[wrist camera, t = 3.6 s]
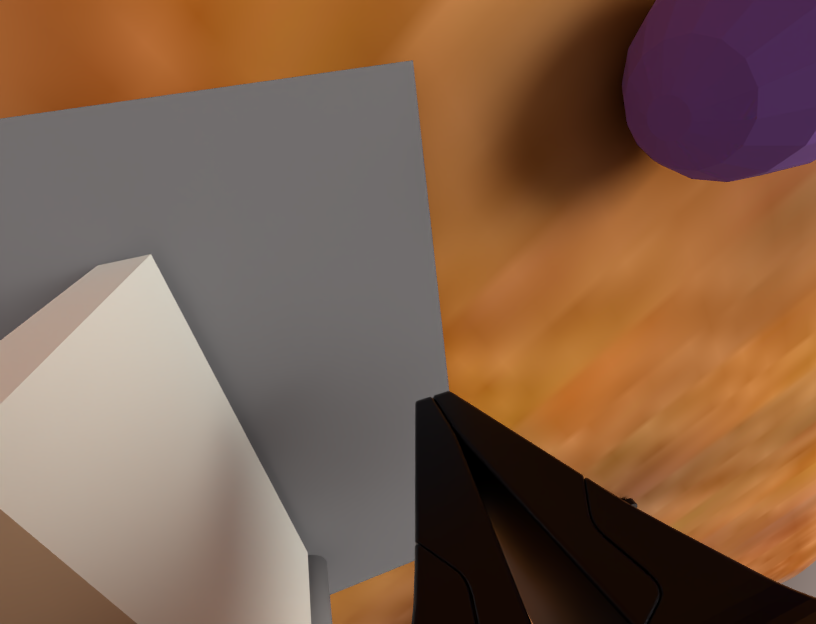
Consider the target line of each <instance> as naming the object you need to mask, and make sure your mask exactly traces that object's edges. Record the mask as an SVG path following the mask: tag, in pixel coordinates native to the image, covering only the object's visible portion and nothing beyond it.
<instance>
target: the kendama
mask: <svg viewBox="0 0 816 624" xmlns="http://www.w3.org/2000/svg"><path fill="white" fill-rule="evenodd" d="M622 90H623V98H624V106H625V113H626V120H627V125H628V127H629V129H630V131H631V133H632V135H633V137H634V139H635V141H636V143H637V145H638V146H639V147H640V148H641V149H642V150H644V151H645V152H646V153H647V154H648V155H649V156H650V157H651V158H652V159H653V160H654V161H656V162H658V163H659V164H661V165H663V166H665V167H667V168H669V169H671V170H674V171H676V172H678V173H680V174H682V175H685V176H687V177H689V178H691V179H700V180H711V181H723V182H730V181H735V180H740V179H745V178H750V177H755V176H759V175H764V174H768V173H772V172H776V171H780V170H784V169H788V168H792V167H796V166H800V165H804V164H808V163H811V162H812V161H814V160H816V0H656V1H655V3H654V4H653V6H652V8H651V9H650V11H649V12H648V14H647V16H646V18H645V19H644V21H643V23H642V25H641V27H640V29H639V30H638V32H637V34H636V36H635V38H634V39H633V41H632V43H631V45H630V47H629V48H628V53H627V58H626V64H625V69H624V75H623V80H622Z"/></svg>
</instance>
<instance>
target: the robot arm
mask: <svg viewBox="0 0 816 624" xmlns="http://www.w3.org/2000/svg"><path fill="white" fill-rule="evenodd" d="M415 544H416V545H415V575H414V604H413V615H412V624H531V621H530V619H531V620H532V622H533V624H816V598H815V597H812V596H809V595H807V594H804V593H801V592H799V591H796V590H794V589H792V588H789V587H787V586H785V585H782V584H780V583H778V582H776V581H774V580H772V579H770V578H768V577H766V576H764V575H762V574H760V573H758V572H756V571H754V570H752V569H750V568H748V567H746V566H744V565H742V564H740V563H739V562H737V561H735V560H733V559H731V558H729V557H727V556H725V555H723V554H721V553H720V552H718V551H716V550H714V549H712V548H710V547H708V546H706V545H704V544H702V543H700V542H699V541H697V540H695V539H693V538H691V537H689V536H687V535H685V534H683V533H681V532H680V531H678V530H676V529H674V528H672V527H670V526H668V525H666V524H665V523H663V522H661V521H659V520H657V519H655V518H654V517H652V516H650V515H648V514H646V513H645V512H643V511H641V510H639V509H637V504H636V503H635V502H634V500H633V499H632V498H629V499H626V500H622V499H620V498H619V497H617V496H615V495H614V494H612V493H611V492H609V491H607V490H606V489H604V488H602V487H601V486H599V485H598V484H596V483H594V482H593V481H591V480H590V479H588V478H585V479H584V477H583V475H582V474H580V473H578V472H577V471H575V470H574V469H572V468H571V467H569V466H567V465H566V464H564V463H563V462H561V461H559V460H558V459H556V458H555V457H553V456H552V455H550V454H548V453H547V452H545V451H544V450H542V449H541V448H539V447H537V446H536V445H534V444H533V443H531V442H529V441H528V440H526V439H525V438H523V437H522V436H520V435H518V434H517V433H515V432H514V431H512V430H511V429H509V428H507V427H506V426H504V425H503V424H501V423H499V422H498V421H496V420H495V419H493V418H492V417H490V416H488V415H487V414H485V413H484V412H482V411H481V410H479V409H477V408H476V407H474V406H473V405H471V404H469V403H468V402H466V401H465V400H463V399H462V398H460V397H458V396H457V395H455V394H454V393H452V392H450V391H446V392H443V393H440V394H436V395H434V396H433V398H432V397H427V398H424V399H421V400H418V401H416V403H415ZM527 613H528V614H527ZM528 615H529V616H528ZM529 617H530V619H529Z"/></svg>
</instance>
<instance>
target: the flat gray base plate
mask: <svg viewBox="0 0 816 624" xmlns="http://www.w3.org/2000/svg"><path fill="white" fill-rule="evenodd" d="M149 254H151V255H152V257H153V259H154V261H155V263H156V265H157V267H158V268H159V270H160V272H161V274H162V276H163V278H164V280H165V282H166V284H167V286H168V288H169V289H170V291H171V293H172V295H173V297H174V299H175V301H176V303H177V305H178V307H179V308H180V310H181V312H182V314H183V316H184V318H185V320H186V322H187V324H188V326H189V327H190V329H191V331H192V333H193V335H194V337H195V339H196V341H197V343H198V345H199V347H200V348H201V350H202V352H203V354H204V356H205V358H206V360H207V362H208V364H209V366H210V367H211V369H212V371H213V373H214V375H215V377H216V379H217V381H218V383H219V385H220V386H221V388H222V390H223V392H224V394H225V396H226V398H227V400H228V402H229V404H230V406H231V407H232V409H233V411H234V413H235V415H236V417H237V419H238V421H239V423H240V425H241V426H242V428H243V430H244V432H245V434H246V436H247V438H248V440H249V442H250V444H251V445H252V447H253V449H254V451H255V453H256V455H257V457H258V459H259V461H260V463H261V465H262V466H263V468H264V470H265V472H266V474H267V476H268V478H269V480H270V482H271V484H272V485H273V487H274V489H275V491H276V493H277V495H278V497H279V499H280V501H281V503H282V504H283V506H284V508H285V510H286V512H287V514H288V516H289V518H290V520H291V522H292V524H293V525H294V527H295V529H296V531H297V533H298V535H299V537H300V539H301V541H302V543H303V544H304V546H305V548H306V550H307V552H308V570H309V589H310V609H311V624H332V615H331V604H330V595H331V594H333V593H336V592H338V591H341V590H343V589H346V588H348V587H350V586H353V585H355V584H358V583H360V582H363V581H365V580H368V579H370V578H373V577H375V576H378V575H380V574H382V573H385V572H387V571H390V570H392V569H395V568H397V567H400V566H402V565H405V564H407V563H410V562H412V561H415V545H416V544H415V403H416V401H418V400H421V399H424V398H427V397H432V398H433V396H434V395H436V394H440V393H443V392H446V391H449V386H448V376H447V367H446V358H445V349H444V340H443V331H442V322H441V313H440V304H439V294H438V285H437V276H436V267H435V258H434V249H433V240H432V231H431V221H430V212H429V203H428V194H427V185H426V176H425V167H424V158H423V149H422V139H421V130H420V121H419V112H418V103H417V94H416V85H415V76H414V67H413V61H405V62H398V63H391V64H384V65H377V66H370V67H363V68H356V69H349V70H342V71H335V72H328V73H321V74H313V75H306V76H299V77H292V78H285V79H278V80H271V81H264V82H257V83H250V84H243V85H236V86H229V87H221V88H214V89H207V90H200V91H193V92H186V93H179V94H172V95H165V96H158V97H151V98H144V99H137V100H130V101H122V102H115V103H108V104H101V105H94V106H87V107H80V108H73V109H66V110H59V111H52V112H45V113H38V114H30V115H23V116H16V117H9V118H2V119H0V340H2V339H3V338H4V337H6V336H7V335H8V334H9V333H11V332H12V331H13V330H15V329H16V328H17V327H18V326H20V325H21V324H22V323H24V322H25V321H26V320H28V319H29V318H30V317H31V316H33V315H34V314H35V313H37V312H38V311H39V310H40V309H42V308H43V307H44V306H46V305H47V304H48V303H49V302H51V301H52V300H53V299H55V298H56V297H57V296H59V295H60V294H61V293H62V292H64V291H65V290H66V289H68V288H69V287H70V286H71V285H73V284H74V283H75V282H77V281H78V280H79V279H81V278H82V277H83V276H84V275H86V274H87V273H88V272H90V271H91V270H92V269H93V268H95V267H96V266H98V265H102V264H107V263H112V262H116V261H121V260H126V259H130V258H135V257H140V256H144V255H149Z"/></svg>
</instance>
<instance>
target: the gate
mask: <svg viewBox="0 0 816 624" xmlns="http://www.w3.org/2000/svg"><path fill="white" fill-rule="evenodd" d="M0 624H311V609H310V589H309V570H308V552H307V550H306V548H305V546H304V544H303V543H302V541H301V539H300V537H299V535H298V533H297V531H296V529H295V527H294V525H293V524H292V522H291V520H290V518H289V516H288V514H287V512H286V510H285V508H284V506H283V504H282V503H281V501H280V499H279V497H278V495H277V493H276V491H275V489H274V487H273V485H272V484H271V482H270V480H269V478H268V476H267V474H266V472H265V470H264V468H263V466H262V465H261V463H260V461H259V459H258V457H257V455H256V453H255V451H254V449H253V447H252V445H251V444H250V442H249V440H248V438H247V436H246V434H245V432H244V430H243V428H242V426H241V425H240V423H239V421H238V419H237V417H236V415H235V413H234V411H233V409H232V407H231V406H230V404H229V402H228V400H227V398H226V396H225V394H224V392H223V390H222V388H221V386H220V385H219V383H218V381H217V379H216V377H215V375H214V373H213V371H212V369H211V367H210V366H209V364H208V362H207V360H206V358H205V356H204V354H203V352H202V350H201V348H200V347H199V345H198V343H197V341H196V339H195V337H194V335H193V333H192V331H191V329H190V327H189V326H188V324H187V322H186V320H185V318H184V316H183V314H182V312H181V310H180V308H179V307H178V305H177V303H176V301H175V299H174V297H173V295H172V293H171V291H170V289H169V288H168V286H167V284H166V282H165V280H164V278H163V276H162V274H161V272H160V270H159V268H158V267H157V265H156V263H155V261H154V259H153V257H152V255H151V254H149V255H144V256H140V257H135V258H130V259H126V260H121V261H116V262H112V263H107V264H102V265H98V266H96V267H95V268H93V269H92V270H91V271H90V272H88V273H87V274H86V275H84V276H83V277H82V278H81V279H79V280H78V281H77V282H75V283H74V284H73V285H71V286H70V287H69V288H68V289H66V290H65V291H64V292H62V293H61V294H60V295H59V296H57V297H56V298H55V299H53V300H52V301H51V302H49V303H48V304H47V305H46V306H44V307H43V308H42V309H40V310H39V311H38V312H37V313H35V314H34V315H33V316H31V317H30V318H29V319H28V320H26V321H25V322H24V323H22V324H21V325H20V326H18V327H17V328H16V329H15V330H13V331H12V332H11V333H9V334H8V335H7V336H6V337H4V338H3V339H2V340H0Z"/></svg>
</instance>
